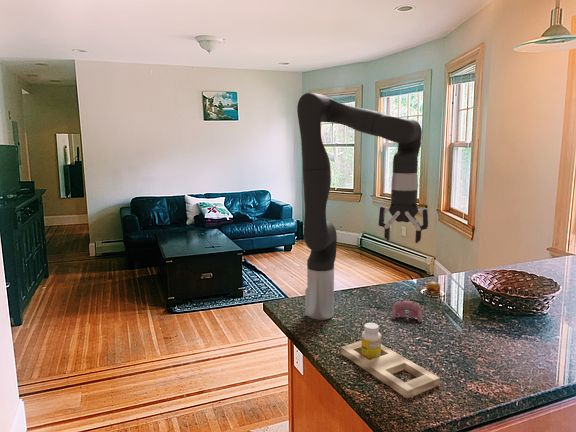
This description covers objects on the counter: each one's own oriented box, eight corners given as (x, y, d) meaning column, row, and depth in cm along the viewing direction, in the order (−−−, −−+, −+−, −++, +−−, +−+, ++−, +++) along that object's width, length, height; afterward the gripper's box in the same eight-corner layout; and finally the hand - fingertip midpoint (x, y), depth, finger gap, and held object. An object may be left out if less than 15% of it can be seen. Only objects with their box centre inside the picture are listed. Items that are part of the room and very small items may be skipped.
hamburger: (413, 289, 180) (414, 276, 179) (442, 289, 179) (443, 277, 178) (421, 300, 168) (421, 286, 167) (452, 300, 168) (453, 286, 167)
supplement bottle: (359, 354, 126) (359, 321, 124) (377, 353, 126) (378, 321, 124) (363, 363, 120) (364, 330, 119) (383, 362, 121) (384, 329, 119)
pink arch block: (421, 323, 149) (422, 302, 151) (421, 322, 145) (422, 301, 147) (391, 320, 153) (393, 300, 154) (391, 319, 148) (392, 298, 150)
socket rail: (340, 353, 126) (340, 347, 126) (370, 344, 131) (370, 338, 131) (407, 398, 104) (407, 390, 104) (439, 385, 109) (439, 377, 109)
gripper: (377, 188, 129) (376, 242, 132) (428, 190, 123) (425, 246, 126) (382, 186, 136) (381, 237, 139) (430, 187, 130) (428, 240, 133)
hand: (402, 241), depth 132 cm, fingers open, 8 cm apart
